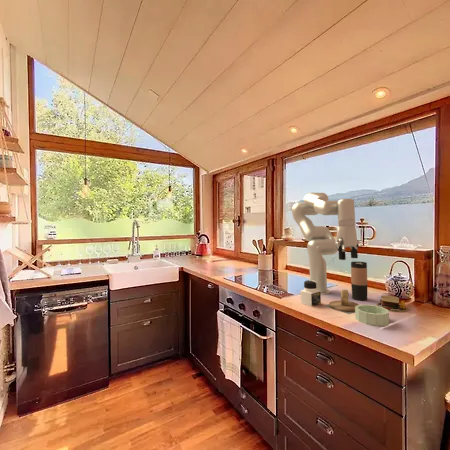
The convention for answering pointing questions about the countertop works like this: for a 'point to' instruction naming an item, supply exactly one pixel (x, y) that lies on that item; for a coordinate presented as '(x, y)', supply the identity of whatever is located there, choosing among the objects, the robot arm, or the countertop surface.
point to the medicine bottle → (310, 294)
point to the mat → (337, 310)
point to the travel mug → (359, 280)
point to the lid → (343, 303)
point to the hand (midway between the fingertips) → (348, 258)
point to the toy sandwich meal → (392, 304)
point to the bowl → (372, 315)
